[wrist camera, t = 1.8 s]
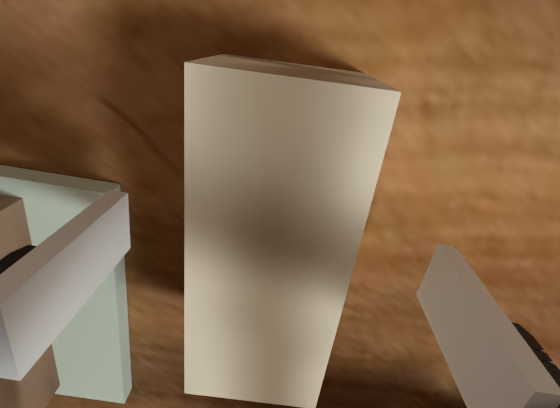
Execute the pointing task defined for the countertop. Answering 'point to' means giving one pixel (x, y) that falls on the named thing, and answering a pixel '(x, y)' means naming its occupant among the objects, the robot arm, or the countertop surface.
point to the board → (102, 303)
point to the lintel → (273, 219)
